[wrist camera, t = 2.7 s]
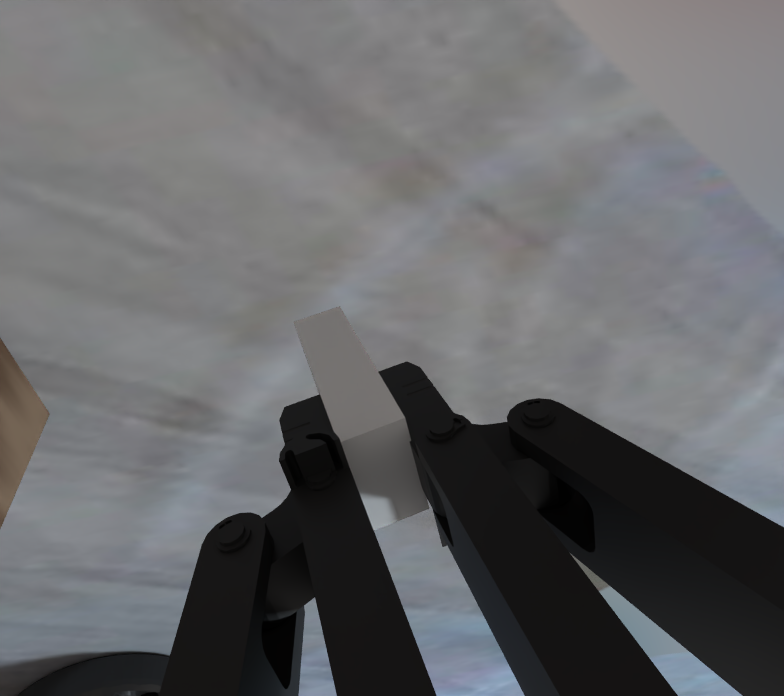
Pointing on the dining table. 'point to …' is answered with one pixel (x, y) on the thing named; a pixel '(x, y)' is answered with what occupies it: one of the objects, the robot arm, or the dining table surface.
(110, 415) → the dining table surface
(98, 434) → the dining table surface
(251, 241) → the dining table surface
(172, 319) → the dining table surface
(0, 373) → the birch plank
